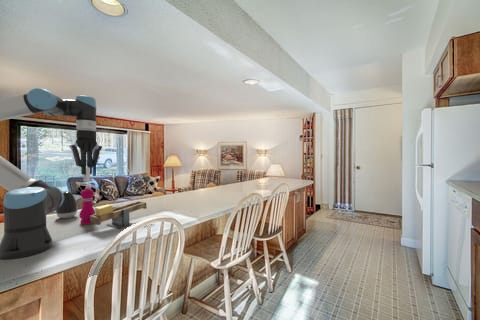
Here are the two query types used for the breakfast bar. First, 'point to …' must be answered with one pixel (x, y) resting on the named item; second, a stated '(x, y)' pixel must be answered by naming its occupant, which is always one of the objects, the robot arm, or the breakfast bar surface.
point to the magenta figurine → (87, 206)
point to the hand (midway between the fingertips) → (86, 181)
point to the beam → (118, 212)
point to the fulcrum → (121, 220)
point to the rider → (103, 210)
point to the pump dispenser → (67, 206)
